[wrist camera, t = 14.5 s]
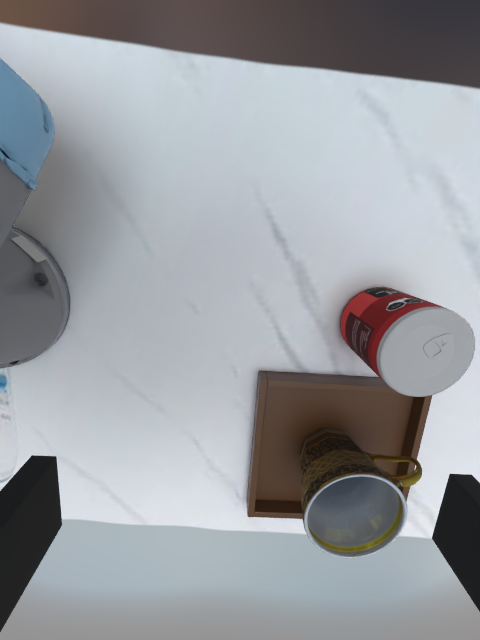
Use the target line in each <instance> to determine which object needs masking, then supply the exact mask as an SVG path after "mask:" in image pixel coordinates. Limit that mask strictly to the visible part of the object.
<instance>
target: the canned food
mask: <svg viewBox="0 0 480 640" xmlns="http://www.w3.org/2000/svg"><path fill="white" fill-rule="evenodd" d="M341 333H342V336H343V339H344V340H345V342H346V344H347V345H348V346H349V347H350V348H351V349H352V350H353V351H354V352H355V353H356V354H357V355H358V356H359V357H360V358H361V359H362V360H363V361H364V362H365V363H366V364H367V365H368V366H369V367H370V368H371V369H372V370H373V371H374V372H375V373H376V374H377V375H378V376H379V377H380V378H381V379H382V380H383V381H384V382H385V383H386V384H387V385H388V386H390V387H391V388H393V389H394V390H396V391H397V392H399V393H401V394H404V395H407V396H413V397H425V396H429V395H434V394H436V393H439V392H442V391H444V390H445V389H447V388H449V387H450V386H452V385H453V384H454V383H455V382H457V381H458V380H459V379H460V378H461V377H462V376H463V374H464V373H465V372H466V370H467V369H468V367H469V366H470V363H471V361H472V359H473V355H474V351H475V338H474V333H473V331H472V329H471V327H470V325H469V323H468V322H467V321H466V320H465V319H464V318H463V317H461V316H460V315H459V314H457V313H455V312H454V311H451V310H449V309H446V308H444V307H441V306H439V305H436V304H433V303H431V302H428V301H425V300H422V299H419V298H416V297H414V296H411V295H408V294H405V293H402V292H399V291H397V290H394V289H391V288H385V287H377V288H372V289H368V290H366V291H363V292H361V293H359V294H358V295H356V296H355V297H354V298H353V299H352V300H350V302H349V303H348V304H347V306H346V307H345V309H344V311H343V314H342V317H341Z"/></svg>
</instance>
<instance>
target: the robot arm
mask: <svg viewBox="0 0 480 640" xmlns="http://www.w3.org/2000/svg"><path fill="white" fill-rule="evenodd" d="M54 134H55V127H54V121H53V117H52V115H51V112H50V110H49V109H48V107H47V105H46V104H45V102H44V101H43V99H42V98H41V97H40V96H39V95H38V94H37V93H36V92H35V91H34V90H33V89H32V88H31V87H30V86H29V85H28V84H27V83H26V82H25V81H24V80H23V79H22V78H21V77H20V76H19V75H18V74H17V73H16V72H15V71H14V70H13V69H11V68H10V67H9V66H8V65H7V64H6V63H5V62H4V61H3V60H2V59H1V58H0V368H5V367H11V366H15V365H18V364H22V363H25V362H27V361H30V360H32V359H34V358H35V357H37V356H38V355H40V354H42V353H43V352H45V351H46V350H48V349H49V348H50V347H51V346H52V345H53V344H54V343H55V342H56V341H57V340H58V338H59V337H60V336H61V334H62V332H63V330H64V328H65V326H66V323H67V320H68V315H69V292H68V288H67V284H66V281H65V278H64V276H63V273H62V271H61V270H60V268H59V266H58V264H57V263H56V261H55V260H54V258H53V257H52V256H51V255H50V253H49V252H48V251H47V250H46V249H45V248H44V247H43V246H42V245H41V244H40V243H39V242H37V241H36V240H35V239H33V238H32V237H30V236H29V235H27V234H26V233H24V232H22V231H20V230H18V229H16V228H13V227H12V226H13V224H14V222H15V220H16V218H17V216H18V215H19V213H20V211H21V209H22V207H23V205H24V203H25V201H26V200H27V198H28V196H29V194H30V192H31V190H34V191H35V189H36V188H37V180H36V178H37V176H38V173H39V171H40V169H41V167H42V164H43V162H44V160H45V158H46V156H47V153H48V151H49V149H50V147H51V144H52V142H53V139H54ZM61 526H62V519H61V507H60V495H59V483H58V471H57V459H56V457H55V456H31V457H30V458H29V459H28V461H27V462H26V463H25V464H24V465H23V466H22V467H21V468H20V470H19V471H18V472H17V473H16V474H15V475H14V476H13V477H12V479H11V480H10V481H9V482H8V483H7V484H6V485H5V486H4V488H3V489H2V490H1V491H0V632H1V630H2V628H3V626H4V625H5V623H6V621H7V619H8V618H9V616H10V614H11V613H12V611H13V609H14V607H15V606H16V604H17V602H18V600H19V599H20V597H21V595H22V594H23V592H24V590H25V588H26V587H27V585H28V583H29V581H30V579H31V578H32V576H33V574H34V573H35V571H36V569H37V568H38V566H39V564H40V562H41V560H42V559H43V557H44V555H45V554H46V552H47V550H48V548H49V547H50V545H51V543H52V541H53V540H54V538H55V536H56V535H57V533H58V531H59V529H60V528H61ZM432 539H433V541H434V542H435V544H436V545H437V547H438V548H439V550H440V551H441V553H442V554H443V556H444V557H445V559H446V561H447V562H448V564H449V565H450V567H451V568H452V570H453V571H454V573H455V574H456V576H457V577H458V579H459V581H460V582H461V584H462V585H463V587H464V588H465V590H466V591H467V593H468V594H469V596H470V597H471V599H472V600H473V602H474V604H475V605H476V606H477V608H478V610H479V611H480V483H479V482H478V481H477V480H476V479H475V478H474V477H473V476H472V475H463V474H450V475H449V479H448V482H447V486H446V489H445V493H444V497H443V500H442V504H441V507H440V511H439V515H438V518H437V522H436V525H435V529H434V533H433V536H432Z"/></svg>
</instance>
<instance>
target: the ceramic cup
mask: <svg viewBox="0 0 480 640" xmlns="http://www.w3.org/2000/svg"><path fill="white" fill-rule="evenodd" d="M377 460H386V461H393V462H412V463H414V464H416V469H415V471H413V472H412V473H409V474H406V475H399V476H395V475H392V474H390V473H388V472H386V471H385V470H383V469H381V468H380V467H378V466H377V465H376V464H375V461H377ZM300 466H301V485H302V495H301V500H302V515H303V523H304V528H305V531H306V534H307V536H308V538H309V539H310V540H311V542H313V544H314V545H315V546H316V547H317V548H319V549H320V550H322V551H323V552H325V553H328V554H330V555H333V556H337V557H343V558H356V557H363V556H367V555H370V554H373V553H376V552H378V551H380V550H382V549H383V548H385V547H386V546H388V545H389V544H390V543H391V542H393V541H394V540H395V539H396V537H397V536H398V535H399V534H400V532H401V531H402V529H403V527H404V525H405V522H406V518H407V503H406V500H405V497H404V495H403V494H402V492H401V490H400V489H399V488H398V487H408V486H411V485H414V484H415V483H416V482H417V481H419V479H420V478H421V476H422V468H421V465H420V463H419V462H418V461H417V460H416V459H414V458H412V457H408V456H386V455H380V454H370V453H368V452H364V451H363V450H362V449H361V448H360V447H359V446H358V445H357V444H356V443H355V442H354V441H353V440H352V439H351V438H350V437H349V436H348V435H347V433H346V432H343V431H338V430H332V429H326V428H324V429H322V430H320V431H318V432H317V433H315V434H313V435H311V436H310V437H308V438H306V439H305V442H304V446H303V449H302V452H301V456H300Z"/></svg>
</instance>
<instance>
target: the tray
mask: <svg viewBox="0 0 480 640" xmlns="http://www.w3.org/2000/svg"><path fill="white" fill-rule="evenodd" d="M431 398H432V395H429V396H425V397H413V396H407V395H404V394H401V393H399V392H397V391H396V390H394V389H393V388H391V387H390V386H388V385H387V384H386V383H385V382H384V381H383V380H382V379H381V378H378V377H360V376H342V375H324V374H306V373H288V372H271V371H259V374H258V385H257V396H256V407H255V417H254V428H253V439H252V450H251V461H250V471H249V482H248V493H247V514H248V517H269V518H295V519H303V515H302V500H301V495H302V485H301V466H300V456H301V452H302V449H303V446H304V442H305V439H306V438H308V437H310V436H311V435H313V434H315V433H317V432H318V431H320V430H322V429H324V428H326V429H332V430H338V431H343V432H346V433H347V435H348V436H349V437H350V438H351V439H352V440H353V441H354V442H355V443H356V444H357V445H358V446H359V447H360V448H361V449H362V450H363V451H364V452H368V453H370V454H380V455H386V456H408V457H412V458H414V459H416V460H417V456H418V452H419V448H420V443H421V439H422V435H423V431H424V427H425V423H426V419H427V415H428V411H429V406H430V402H431ZM375 464H376V465H377V466H378V467H380V468H381V469H383V470H385V471H386V472H388V473H390V474H392V475H395V476H399V475H406V474H409V473H412V472H413V471H414V468H415V464H414V463H412V462H393V461H386V460H377V461H375ZM398 488H399V489H400V490H401V492H402V494H403V495H404V497H405V500H406V501H407V497H408V493H409V489H410V486H408V487H398Z"/></svg>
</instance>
